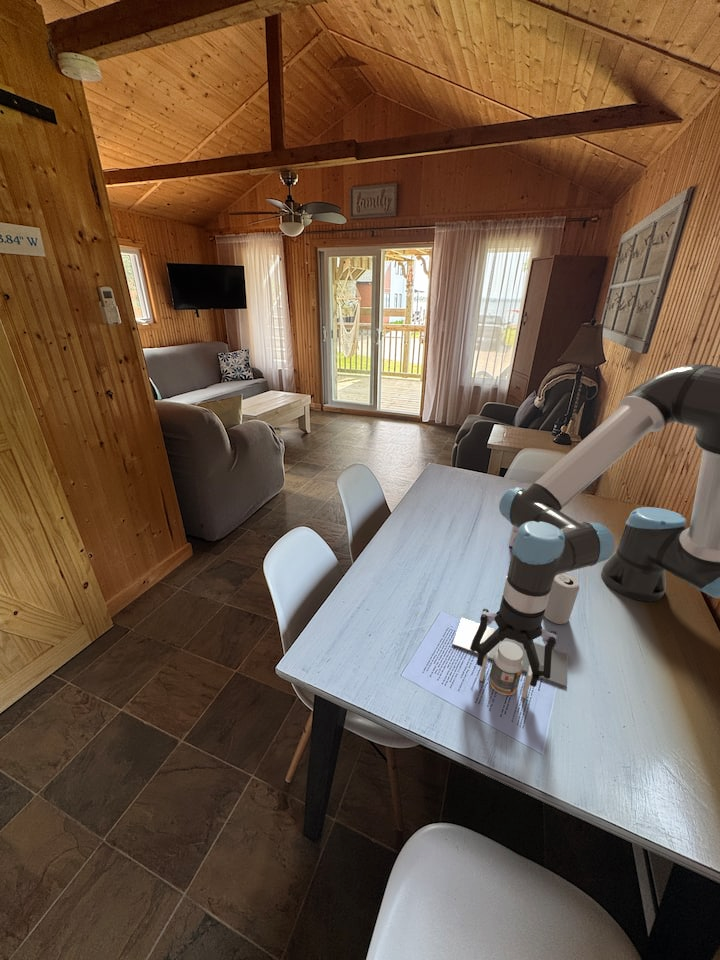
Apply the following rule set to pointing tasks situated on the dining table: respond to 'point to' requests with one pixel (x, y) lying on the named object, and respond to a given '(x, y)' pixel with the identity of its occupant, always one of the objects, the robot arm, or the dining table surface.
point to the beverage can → (561, 598)
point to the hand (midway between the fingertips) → (502, 683)
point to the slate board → (557, 660)
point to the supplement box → (513, 535)
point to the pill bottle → (506, 668)
